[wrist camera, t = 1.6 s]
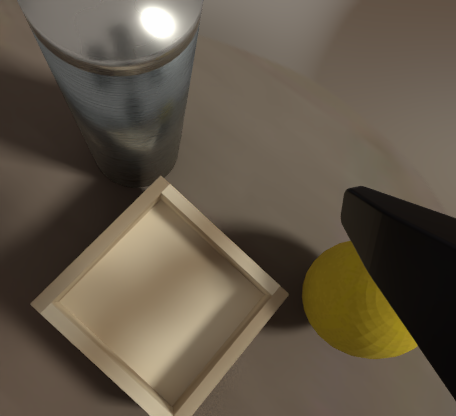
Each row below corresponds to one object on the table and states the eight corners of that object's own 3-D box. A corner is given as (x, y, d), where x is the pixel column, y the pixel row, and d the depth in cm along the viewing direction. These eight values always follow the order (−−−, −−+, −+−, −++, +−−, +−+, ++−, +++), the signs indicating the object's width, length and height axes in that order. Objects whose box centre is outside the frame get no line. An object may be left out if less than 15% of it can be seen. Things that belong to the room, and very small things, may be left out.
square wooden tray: (269, 293, 22) (289, 294, 19) (171, 412, 20) (174, 437, 17) (160, 192, 22) (160, 175, 19) (50, 301, 20) (29, 304, 17)
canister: (195, 147, 23) (241, -16, 11) (137, 204, 22) (112, 97, 10) (135, 91, 23) (111, -136, 11) (73, 146, 22) (-36, -39, 10)
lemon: (310, 229, 24) (386, 202, 16) (387, 279, 24) (497, 276, 16) (265, 312, 22) (323, 326, 14) (346, 364, 22) (447, 404, 15)
